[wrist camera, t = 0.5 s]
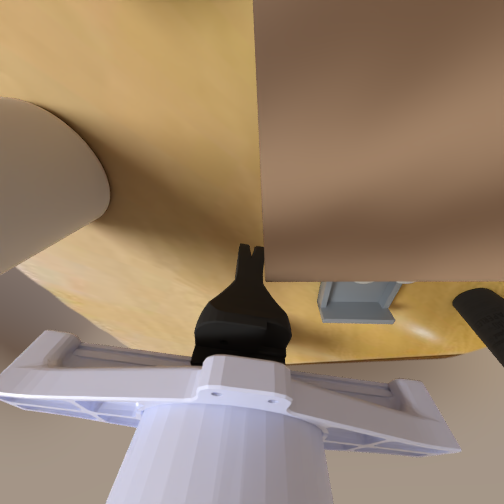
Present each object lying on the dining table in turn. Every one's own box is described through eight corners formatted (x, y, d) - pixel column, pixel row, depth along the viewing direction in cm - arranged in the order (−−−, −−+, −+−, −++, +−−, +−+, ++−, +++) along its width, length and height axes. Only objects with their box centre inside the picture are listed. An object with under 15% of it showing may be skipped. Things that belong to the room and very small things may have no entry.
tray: (379, 302, 30) (397, 331, 26) (317, 301, 31) (324, 330, 27) (426, 211, 21) (467, 234, 16) (335, 214, 22) (351, 237, 17)
